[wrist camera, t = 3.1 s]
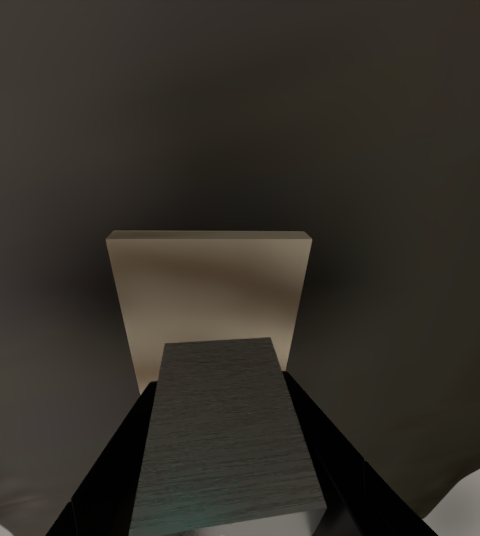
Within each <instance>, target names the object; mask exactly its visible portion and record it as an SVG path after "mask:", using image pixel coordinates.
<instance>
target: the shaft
mask: <svg viewBox="0 0 480 536" xmlns="http://www.w3.org/2000/svg"><path fill="white" fill-rule="evenodd" d="M326 509H327V506H326V503H325V500H324V497H323V494H322V491H321V488H320V485H319V482H318V479H317V476H316V473H315V469H314V466H313V463H312V460H311V457H310V454H309V451H308V448H307V445H306V442H305V439H304V436H303V433H302V430H301V427H300V424H299V421H298V418H297V415H296V412H295V409H294V406H293V403H292V400H291V397H290V394H289V391H288V388H287V385H286V382H285V379H284V376H283V373H282V370H281V367H280V364H279V361H278V358H277V355H276V352H275V349H274V346H273V343H272V340H271V337H265V338H248V339H230V340H213V341H195V342H178V343H165V345H164V350H163V355H162V361H161V366H160V371H159V377H158V382H157V387H156V392H155V398H154V403H153V408H152V414H151V419H150V424H149V430H148V435H147V440H146V446H145V451H144V456H143V461H142V467H141V472H140V477H139V483H138V488H137V493H136V499H135V504H134V509H133V514H132V520H131V525H130V530H129V536H313V534H314V532H315V530H316V528H317V526H318V524H319V522H320V521H321V519H322V517H323V515H324V513H325V511H326Z"/></svg>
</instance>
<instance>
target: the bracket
mask: <svg viewBox="0 0 480 536" xmlns="http://www.w3.org/2000/svg"><path fill="white" fill-rule="evenodd" d="M105 240H106V244H107V249H108V253H109V258H110V262H111V266H112V271H113V275H114V280H115V284H116V289H117V293H118V298H119V302H120V307H121V311H122V316H123V320H124V325H125V329H126V334H127V338H128V343H129V347H130V352H131V356H132V361H133V365H134V369H135V374H136V378H137V383H138V387H139V392H140V395H141V394H142V392H143V391H144V389H145V388H146V387H147V385H148V384H149V382H151V381H158V377H159V371H160V366H161V361H162V355H163V350H164V345H165V343H178V342H195V341H213V340H230V339H248V338H265V337H271V340H272V343H273V346H274V349H275V352H276V355H277V358H278V361H279V364H280V367H281V370H282V371H286V366H287V361H288V356H289V351H290V346H291V341H292V337H293V332H294V327H295V322H296V317H297V312H298V307H299V302H300V297H301V292H302V288H303V283H304V278H305V273H306V268H307V263H308V258H309V253H310V248H311V244H312V238H311V237H310V236H309V235H308V234H306V233H305V232H304V231H164V230H114V231H113V232H112V233H111V234H110V235H109V236H108V237H107V238H106V239H105Z"/></svg>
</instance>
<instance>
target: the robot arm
mask: <svg viewBox="0 0 480 536" xmlns="http://www.w3.org/2000/svg"><path fill="white" fill-rule="evenodd" d="M282 373H283V376H284V379H285V382H286V385H287V388H288V391H289V394H290V397H291V400H292V403H293V406H294V409H295V412H296V415H297V418H298V421H299V424H300V427H301V430H302V433H303V436H304V439H305V442H306V445H307V448H308V451H309V454H310V457H311V460H312V463H313V466H314V469H315V473H316V476H317V479H318V482H319V485H320V488H321V491H322V494H323V497H324V500H325V503H326V506H327V509H326V511H325V513H324V515H323V517H322V519H321V521H320V522H319V524H318V526H317V528H316V530H315V532H314V534H313V536H438V535H437V534H436V533H435V532H434V531H433V530H432V529H431V528H430V527H429V526H428V525H427V524H426V523H425V522H424V521H423V520H422V519H421V518H420V517H419V516H418V515H417V514H416V513H415V512H414V511H413V510H412V509H411V508H410V507H409V506H408V505H407V504H406V503H405V502H404V501H403V500H402V499H401V498H400V497H399V496H398V495H397V494H396V493H395V492H394V491H393V490H392V489H391V488H390V487H389V486H388V484H387V483H386V482H385V481H384V480H383V479H382V478H381V477H380V476H379V475H378V474H377V472H376V471H375V470H374V469H373V468H372V467H371V466H370V465H369V463H368V462H367V461H364V458H363V457H362V456H361V454H360V453H359V452H358V451H357V450H356V449H355V448H354V447H353V445H352V444H351V443H350V442H349V441H348V440H347V439H346V437H345V436H344V435H343V434H342V433H341V432H340V431H339V430H338V428H337V427H336V426H335V425H334V424H333V423H332V422H331V421H330V419H329V418H328V417H327V416H326V415H325V414H324V413H323V411H322V410H321V409H320V408H319V407H318V406H317V405H316V404H315V402H314V401H313V400H312V399H311V398H310V397H309V396H308V394H307V393H306V392H305V391H304V390H303V389H302V388H301V387H300V385H299V384H298V383H297V382H296V381H295V380H294V379H293V378H292V376H291V375H290V374H289V373H288V372H287V371H282ZM157 382H158V381H151V382H149V384H148V385H147V387H146V388H145V389H144V391H143V392H142V394H141V395H140V397H139V398H138V400H137V401H136V403H135V404H134V406H133V407H132V409H131V410H130V412H129V413H128V415H127V416H126V418H125V419H124V421H123V422H122V424H121V425H120V427H119V428H118V429H117V431H116V432H115V434H114V435H113V437H112V438H111V440H110V441H109V443H108V444H107V446H106V447H105V449H104V450H103V452H102V453H101V455H100V456H99V458H98V459H97V461H96V462H95V464H94V465H93V467H92V468H91V469H90V471H89V472H88V474H87V475H86V477H85V478H84V480H83V481H82V483H81V484H80V486H79V487H78V489H77V490H76V492H75V493H74V495H73V496H72V498H71V502H68V503H67V505H66V506H65V508H64V509H63V511H62V512H61V514H60V515H59V517H58V518H57V520H56V521H55V523H54V524H53V525H52V527H51V528H50V530H49V531H48V533H47V534H46V535H45V536H129V530H130V525H131V520H132V514H133V509H134V504H135V499H136V493H137V488H138V483H139V477H140V472H141V467H142V461H143V456H144V451H145V446H146V440H147V435H148V430H149V424H150V419H151V414H152V408H153V403H154V398H155V392H156V387H157Z"/></svg>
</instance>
